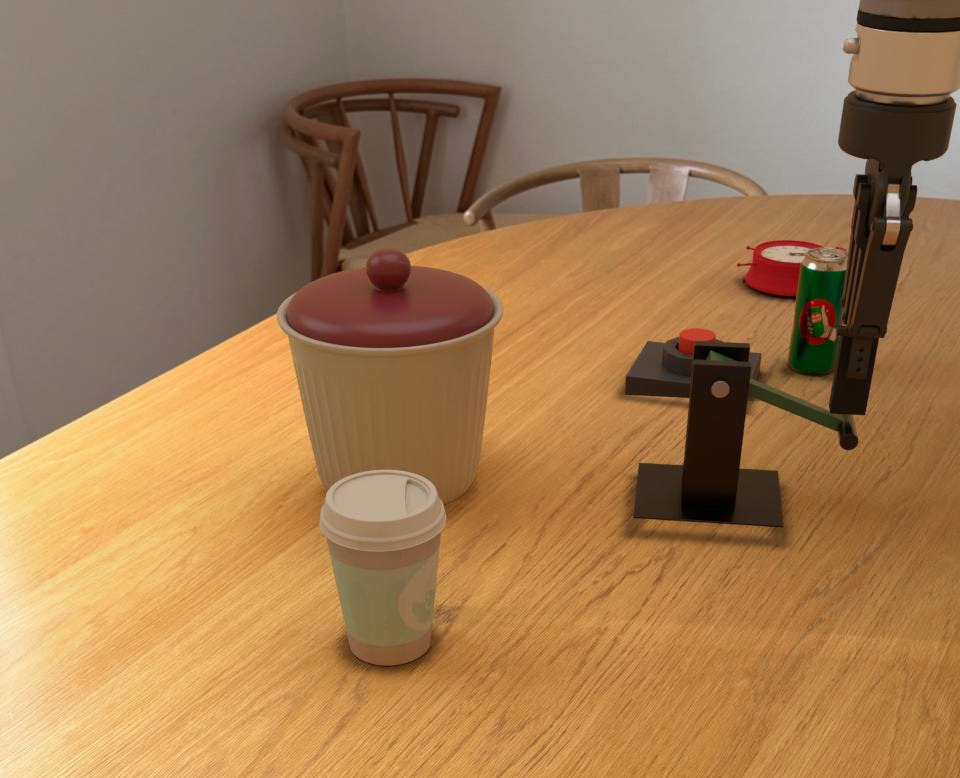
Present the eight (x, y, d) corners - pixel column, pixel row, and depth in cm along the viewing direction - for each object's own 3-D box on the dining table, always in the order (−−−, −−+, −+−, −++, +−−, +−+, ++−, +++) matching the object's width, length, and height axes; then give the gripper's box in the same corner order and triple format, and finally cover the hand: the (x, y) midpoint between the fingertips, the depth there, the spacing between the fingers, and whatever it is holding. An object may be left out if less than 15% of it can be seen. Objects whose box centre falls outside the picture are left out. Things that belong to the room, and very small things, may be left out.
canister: (413, 565, 99) (401, 305, 87) (251, 502, 108) (221, 258, 96) (543, 481, 111) (549, 241, 99) (388, 430, 120) (376, 205, 108)
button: (717, 346, 127) (718, 329, 126) (710, 359, 125) (712, 342, 124) (681, 342, 128) (683, 326, 127) (675, 355, 126) (676, 338, 125)
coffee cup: (409, 690, 86) (401, 537, 79) (307, 656, 89) (291, 506, 82) (471, 629, 92) (469, 482, 85) (373, 599, 95) (363, 455, 88)
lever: (843, 426, 104) (857, 401, 102) (849, 458, 99) (865, 432, 98) (697, 367, 103) (710, 341, 101) (697, 396, 98) (710, 369, 97)
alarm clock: (745, 237, 157) (870, 220, 152) (751, 286, 160) (873, 271, 155) (732, 263, 149) (863, 245, 143) (738, 314, 152) (867, 298, 146)
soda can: (809, 355, 135) (825, 243, 128) (846, 369, 131) (865, 255, 125) (776, 366, 132) (791, 252, 126) (813, 381, 129) (831, 265, 122)
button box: (759, 373, 131) (763, 336, 129) (744, 411, 123) (749, 372, 121) (646, 360, 134) (648, 324, 132) (624, 396, 126) (626, 358, 124)
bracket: (775, 485, 110) (796, 333, 102) (781, 542, 102) (804, 381, 94) (638, 477, 111) (648, 327, 104) (632, 532, 103) (642, 374, 96)
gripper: (837, 73, 92) (794, 376, 106) (854, 111, 82) (803, 442, 95) (943, 76, 91) (885, 381, 105) (974, 114, 81) (906, 448, 94)
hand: (846, 410), depth 100 cm, fingers closed
